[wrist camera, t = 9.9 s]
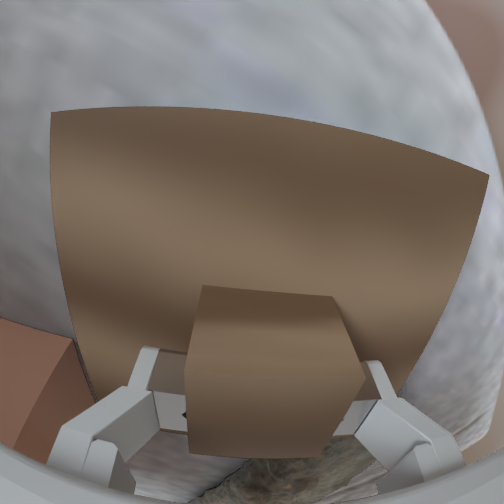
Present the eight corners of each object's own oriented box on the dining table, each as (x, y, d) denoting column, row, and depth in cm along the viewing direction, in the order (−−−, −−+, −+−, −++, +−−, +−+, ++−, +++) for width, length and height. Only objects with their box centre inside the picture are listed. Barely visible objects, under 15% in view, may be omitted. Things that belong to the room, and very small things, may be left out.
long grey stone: (163, 497, 30) (228, 507, 32) (161, 527, 25) (228, 535, 28) (322, 377, 15) (421, 396, 18) (343, 460, 11) (445, 451, 13)
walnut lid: (68, 111, 7) (-35, 123, 3) (472, 168, 8) (563, 208, 4) (110, 404, 13) (87, 473, 9) (363, 421, 14) (383, 486, 10)
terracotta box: (-43, 301, 14) (-112, 382, 4) (72, 338, 14) (-2, 482, 5) (8, 402, 18) (-29, 476, 9) (112, 440, 19) (86, 538, 10)
